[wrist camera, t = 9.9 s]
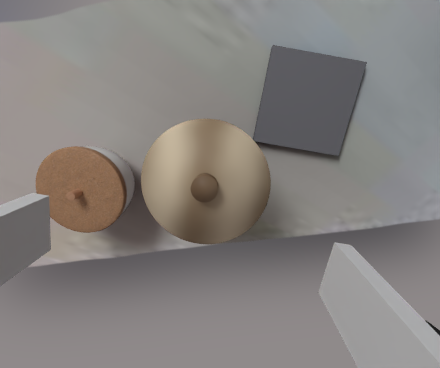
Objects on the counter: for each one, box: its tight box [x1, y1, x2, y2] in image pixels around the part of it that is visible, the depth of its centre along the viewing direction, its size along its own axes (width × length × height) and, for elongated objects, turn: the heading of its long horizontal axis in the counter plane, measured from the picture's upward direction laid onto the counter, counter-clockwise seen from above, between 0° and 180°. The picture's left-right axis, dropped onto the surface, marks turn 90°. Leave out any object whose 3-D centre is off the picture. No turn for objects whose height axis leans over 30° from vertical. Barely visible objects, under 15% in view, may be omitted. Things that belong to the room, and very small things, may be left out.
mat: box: [253, 45, 367, 156], centre depth 32 cm, size 12×12×1 cm
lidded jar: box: [36, 146, 135, 233], centre depth 31 cm, size 11×11×9 cm
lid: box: [141, 119, 271, 244], centre depth 23 cm, size 12×12×4 cm
